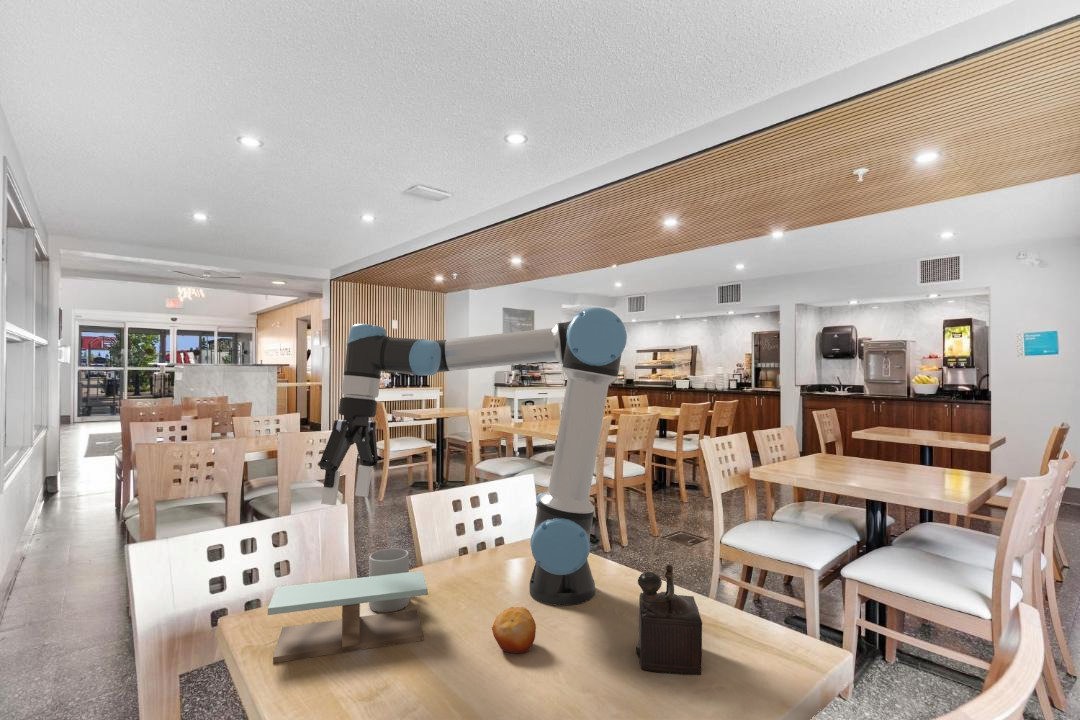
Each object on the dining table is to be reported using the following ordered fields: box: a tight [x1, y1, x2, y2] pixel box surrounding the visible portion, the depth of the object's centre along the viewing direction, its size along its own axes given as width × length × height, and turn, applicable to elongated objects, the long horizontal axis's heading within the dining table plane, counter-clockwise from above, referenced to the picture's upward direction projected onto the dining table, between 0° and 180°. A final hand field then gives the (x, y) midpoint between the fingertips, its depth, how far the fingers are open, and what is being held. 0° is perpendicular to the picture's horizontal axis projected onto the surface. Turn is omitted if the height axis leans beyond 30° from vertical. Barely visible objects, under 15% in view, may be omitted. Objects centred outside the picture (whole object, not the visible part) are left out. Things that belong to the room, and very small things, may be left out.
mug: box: [368, 547, 410, 613], centre depth 123 cm, size 12×8×11 cm
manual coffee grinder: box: [635, 564, 703, 676], centre depth 96 cm, size 16×11×18 cm
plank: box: [267, 570, 429, 616], centre depth 107 cm, size 28×10×1 cm, turn 108°
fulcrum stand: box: [272, 603, 424, 664], centre depth 107 cm, size 26×12×8 cm, turn 108°
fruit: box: [491, 606, 537, 654], centre depth 103 cm, size 8×8×8 cm
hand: (346, 500), depth 114 cm, fingers open, 13 cm apart
